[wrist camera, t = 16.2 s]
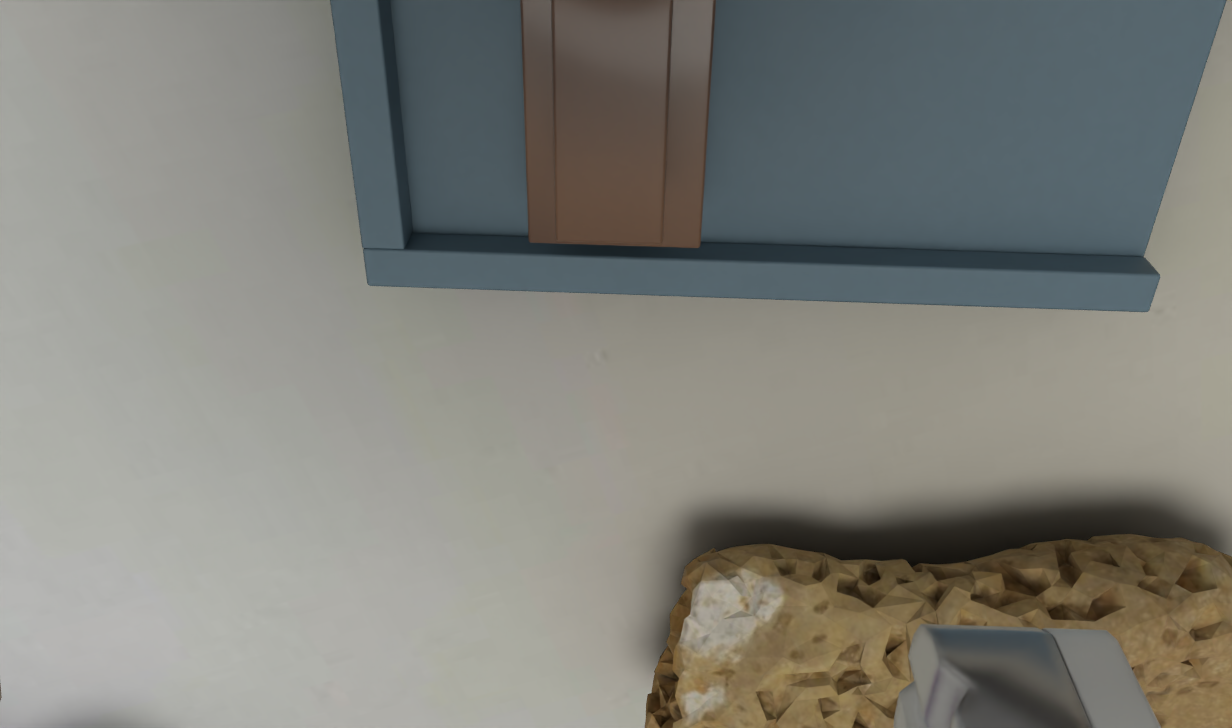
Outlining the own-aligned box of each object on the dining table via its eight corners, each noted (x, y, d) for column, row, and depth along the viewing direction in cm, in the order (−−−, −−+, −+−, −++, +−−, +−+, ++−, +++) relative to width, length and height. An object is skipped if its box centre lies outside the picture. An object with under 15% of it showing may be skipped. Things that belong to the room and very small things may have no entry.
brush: (526, -316, 22) (485, -327, 17) (729, -313, 22) (747, -323, 17) (540, 197, 29) (513, 300, 24) (697, 202, 28) (703, 306, 23)
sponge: (656, 671, 42) (1153, 824, 39) (616, 810, 35) (1221, 1008, 32) (731, 383, 37) (1303, 535, 35) (702, 475, 30) (1422, 676, 27)
